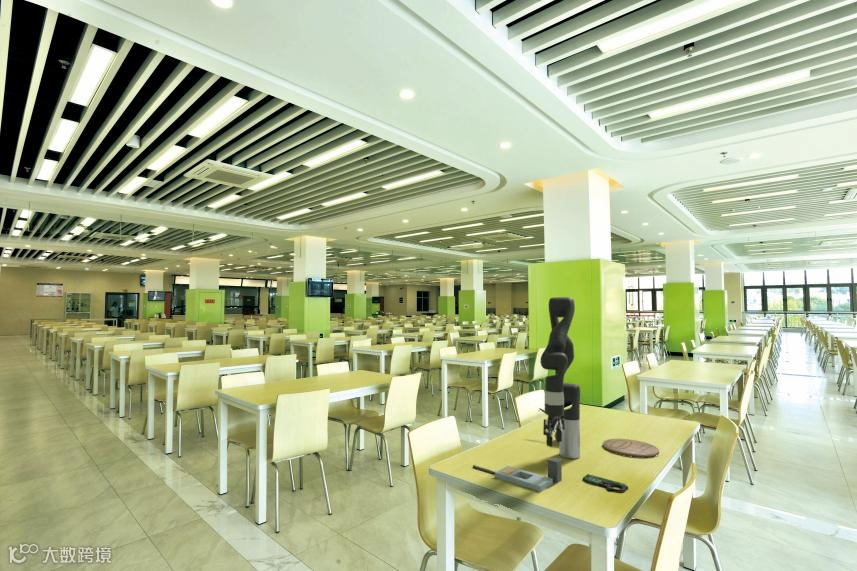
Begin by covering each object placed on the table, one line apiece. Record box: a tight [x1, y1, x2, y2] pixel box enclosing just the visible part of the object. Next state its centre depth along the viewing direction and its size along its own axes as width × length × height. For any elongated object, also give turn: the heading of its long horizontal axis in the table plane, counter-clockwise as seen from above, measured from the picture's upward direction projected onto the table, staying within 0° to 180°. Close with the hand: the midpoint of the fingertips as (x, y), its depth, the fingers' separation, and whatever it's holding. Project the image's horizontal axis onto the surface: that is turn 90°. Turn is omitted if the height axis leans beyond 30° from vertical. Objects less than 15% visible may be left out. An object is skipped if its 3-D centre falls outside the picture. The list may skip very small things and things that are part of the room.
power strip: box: [472, 464, 554, 493], centre depth 172 cm, size 10×33×2 cm, turn 48°
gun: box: [582, 473, 629, 494], centre depth 165 cm, size 16×2×10 cm
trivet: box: [602, 438, 660, 459], centre depth 209 cm, size 25×25×2 cm
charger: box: [547, 457, 563, 484], centre depth 169 cm, size 4×4×8 cm
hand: (554, 443), depth 169 cm, fingers open, 8 cm apart
